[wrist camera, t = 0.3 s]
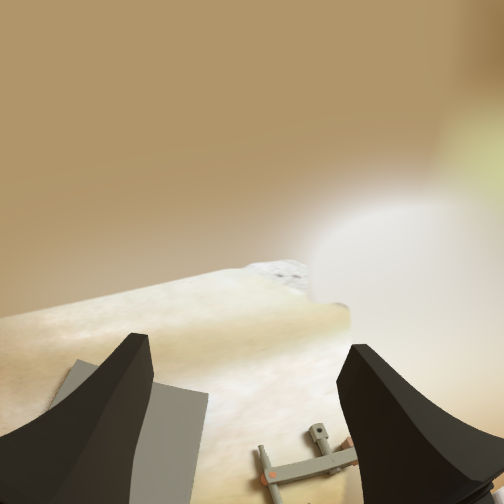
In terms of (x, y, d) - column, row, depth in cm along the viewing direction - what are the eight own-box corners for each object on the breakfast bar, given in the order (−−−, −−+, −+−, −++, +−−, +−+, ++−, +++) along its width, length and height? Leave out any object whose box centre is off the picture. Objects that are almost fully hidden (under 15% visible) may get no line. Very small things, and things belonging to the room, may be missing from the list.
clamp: (351, 412, 27) (387, 483, 19) (344, 422, 28) (377, 489, 20) (215, 435, 23) (236, 528, 15) (214, 444, 24) (233, 530, 16)
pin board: (182, 550, 13) (179, 549, 11) (21, 486, 12) (-2, 470, 10) (207, 400, 29) (210, 377, 27) (80, 367, 28) (71, 341, 26)
